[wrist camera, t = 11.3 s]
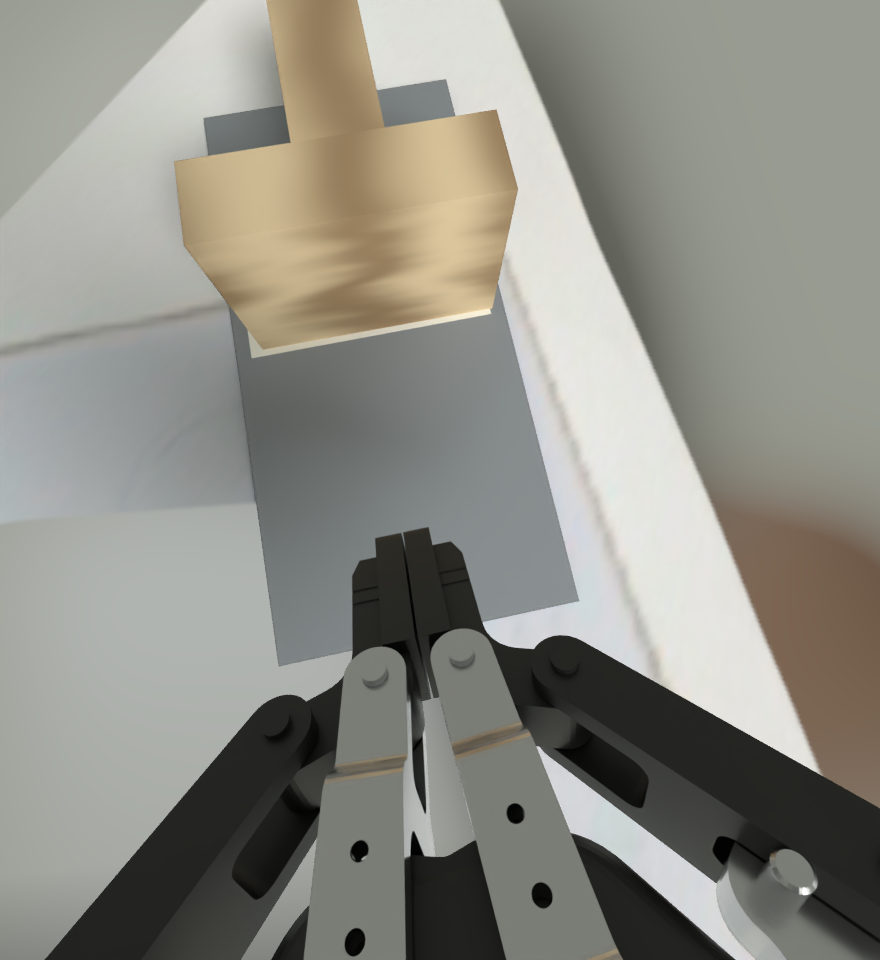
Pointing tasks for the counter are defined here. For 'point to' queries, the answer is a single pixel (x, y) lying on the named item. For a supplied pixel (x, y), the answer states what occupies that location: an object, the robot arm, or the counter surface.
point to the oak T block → (348, 199)
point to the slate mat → (391, 444)
